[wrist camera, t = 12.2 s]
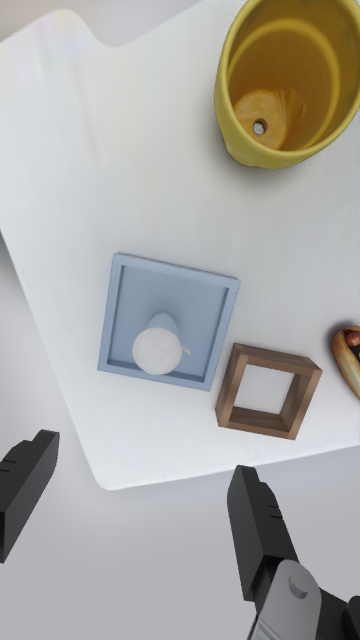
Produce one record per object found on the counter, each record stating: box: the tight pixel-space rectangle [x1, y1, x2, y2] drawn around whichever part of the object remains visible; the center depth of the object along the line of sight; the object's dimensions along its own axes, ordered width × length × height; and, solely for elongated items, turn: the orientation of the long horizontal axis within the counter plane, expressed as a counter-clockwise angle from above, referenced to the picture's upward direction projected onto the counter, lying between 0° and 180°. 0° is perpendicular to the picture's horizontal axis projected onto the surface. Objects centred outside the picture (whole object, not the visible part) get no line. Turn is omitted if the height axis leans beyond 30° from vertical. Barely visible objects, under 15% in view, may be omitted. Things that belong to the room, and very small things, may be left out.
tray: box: [97, 253, 240, 392], centre depth 32 cm, size 14×14×2 cm
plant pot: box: [214, 0, 360, 169], centre depth 22 cm, size 10×10×10 cm
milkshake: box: [132, 312, 191, 375], centre depth 27 cm, size 4×5×10 cm
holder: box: [215, 343, 323, 440], centre depth 34 cm, size 10×10×4 cm
